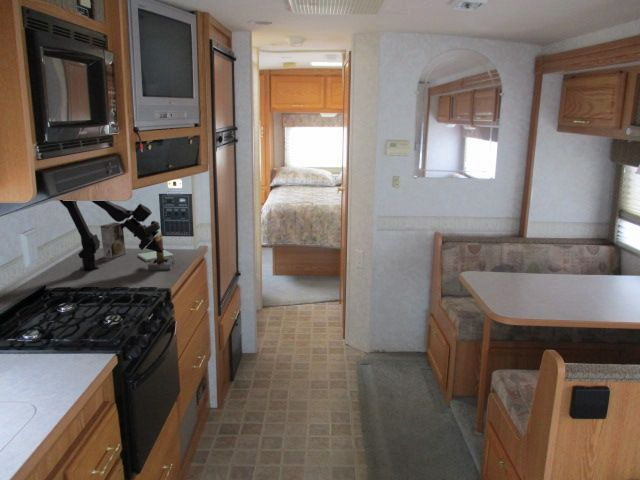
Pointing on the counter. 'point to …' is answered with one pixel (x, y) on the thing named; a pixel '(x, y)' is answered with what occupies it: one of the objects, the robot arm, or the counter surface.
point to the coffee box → (112, 240)
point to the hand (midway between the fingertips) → (162, 251)
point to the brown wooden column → (160, 243)
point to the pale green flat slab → (154, 255)
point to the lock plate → (161, 264)
